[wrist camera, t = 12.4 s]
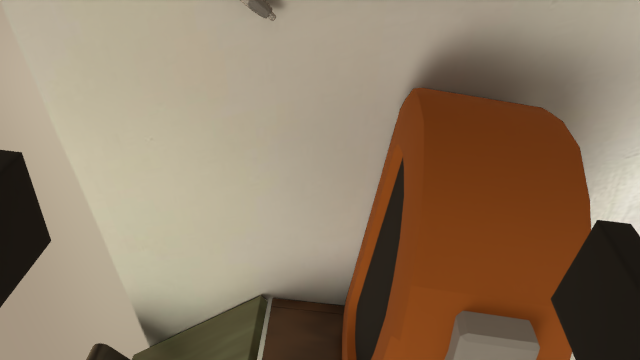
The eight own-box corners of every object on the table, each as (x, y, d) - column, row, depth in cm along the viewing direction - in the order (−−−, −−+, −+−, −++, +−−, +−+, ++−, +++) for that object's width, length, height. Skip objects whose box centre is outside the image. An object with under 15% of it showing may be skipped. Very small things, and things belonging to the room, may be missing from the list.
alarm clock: (407, 63, 30) (451, 252, 16) (544, 87, 30) (700, 290, 17) (341, 301, 43) (336, 510, 30) (436, 315, 44) (472, 527, 30)
